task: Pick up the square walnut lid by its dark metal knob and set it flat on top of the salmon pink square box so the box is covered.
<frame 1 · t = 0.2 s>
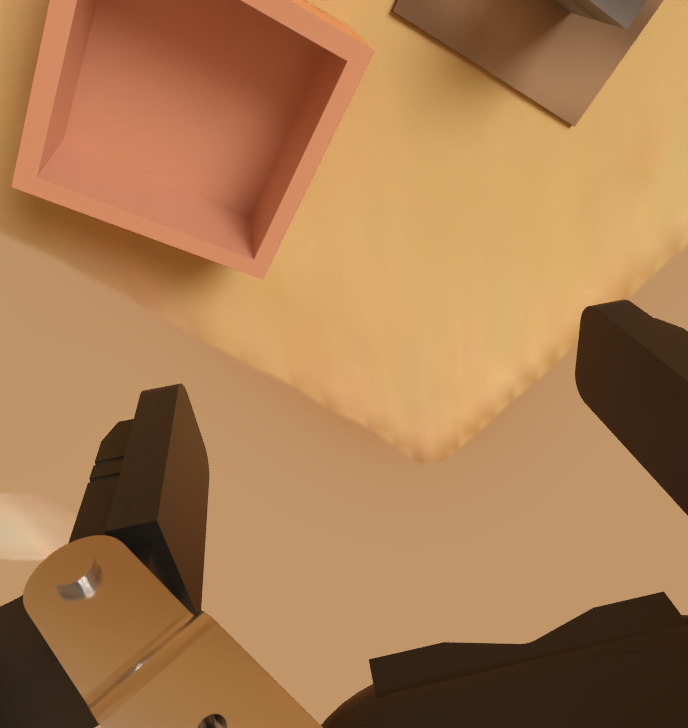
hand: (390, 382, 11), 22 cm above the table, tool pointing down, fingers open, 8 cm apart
salmon pink square box: (195, 84, 27), on the table
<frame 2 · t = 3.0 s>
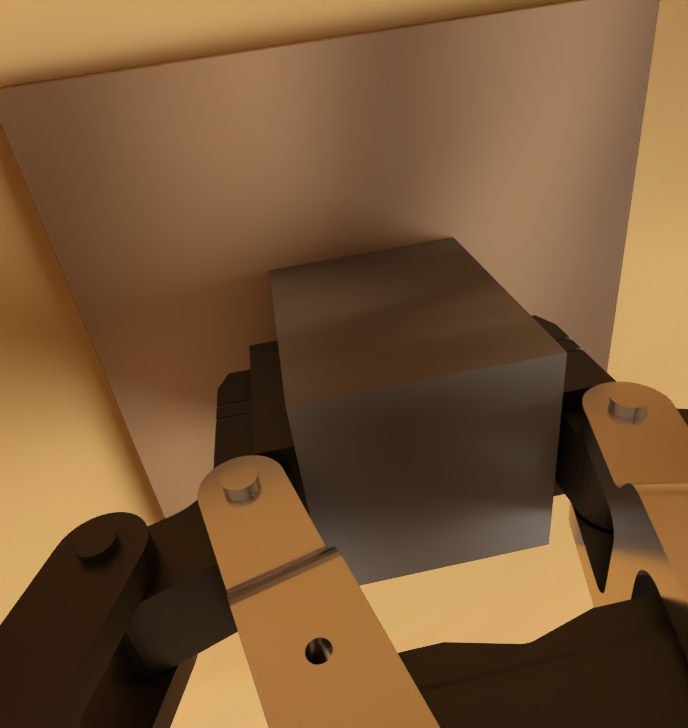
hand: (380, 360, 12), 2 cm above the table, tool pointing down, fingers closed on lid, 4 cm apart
lid: (365, 319, 14), on the table, touching gripper
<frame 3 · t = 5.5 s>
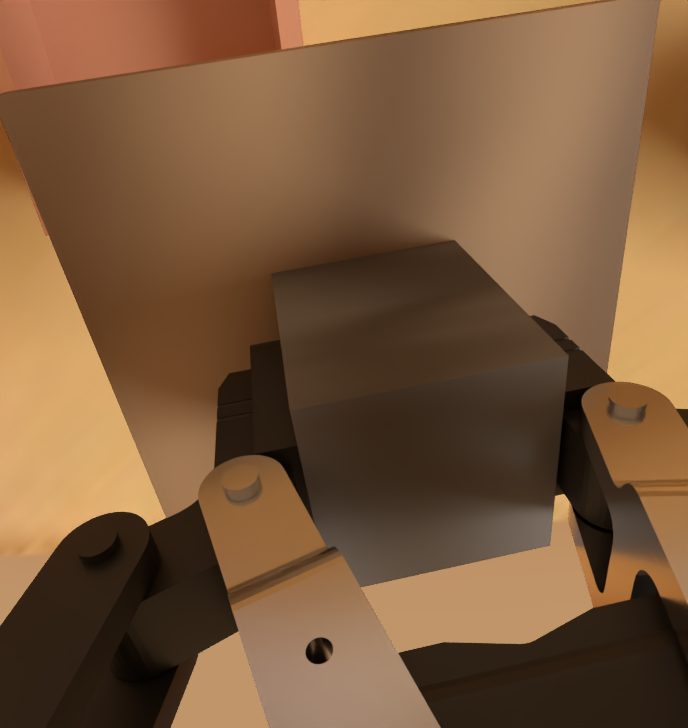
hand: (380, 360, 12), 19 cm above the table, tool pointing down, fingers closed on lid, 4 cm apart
salmon pink square box: (166, 54, 25), on the table
lid: (366, 322, 14), point 17 cm above the table, touching gripper
when the fingers open (9 cm above the table, at t = 8.2 s): lid drops 1 cm, resting on salmon pink square box.
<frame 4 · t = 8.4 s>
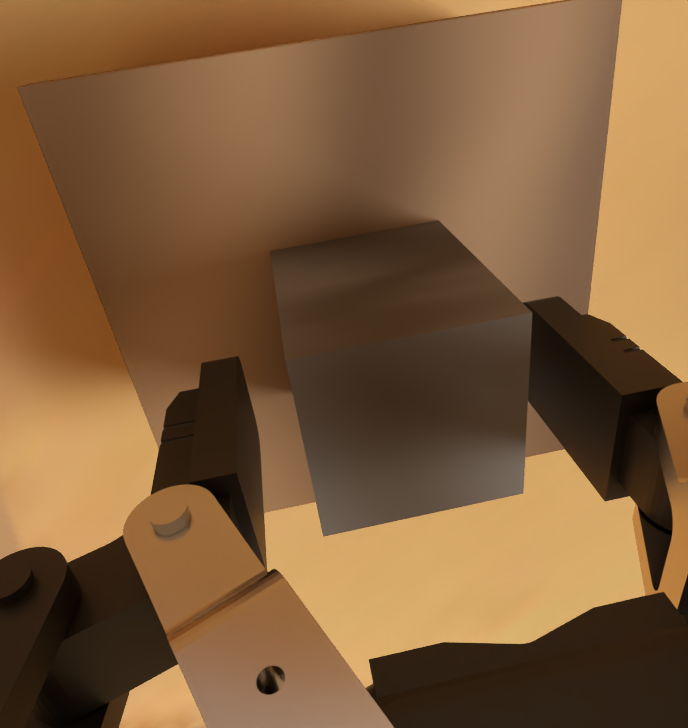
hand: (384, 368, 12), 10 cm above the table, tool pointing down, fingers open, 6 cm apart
lid: (358, 299, 15), point 6 cm above the table, touching salmon pink square box
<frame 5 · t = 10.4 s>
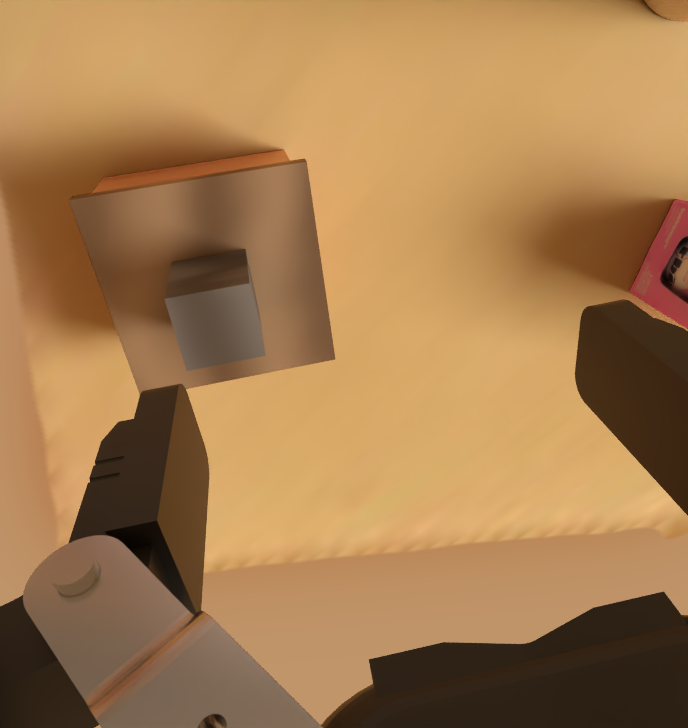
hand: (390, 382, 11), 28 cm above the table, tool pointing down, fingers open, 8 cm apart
salmon pink square box: (215, 249, 38), on the table
lid: (217, 283, 33), point 6 cm above the table, touching salmon pink square box
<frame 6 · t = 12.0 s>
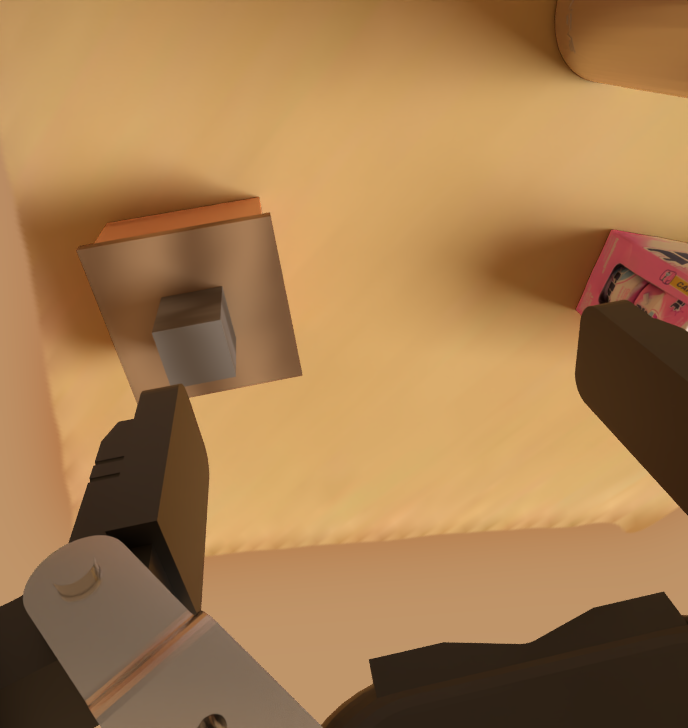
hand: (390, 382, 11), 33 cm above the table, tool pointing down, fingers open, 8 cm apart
salmon pink square box: (203, 279, 44), on the table
lid: (200, 313, 39), point 6 cm above the table, touching salmon pink square box
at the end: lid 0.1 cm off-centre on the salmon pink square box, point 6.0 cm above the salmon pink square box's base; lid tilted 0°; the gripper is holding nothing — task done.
